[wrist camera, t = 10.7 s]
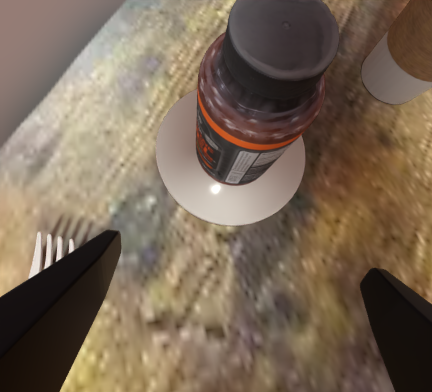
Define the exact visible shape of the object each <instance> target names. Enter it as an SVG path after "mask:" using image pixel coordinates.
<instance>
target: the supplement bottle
mask: <svg viewBox="0 0 432 392" xmlns="http://www.w3.org/2000/svg"><path fill="white" fill-rule="evenodd" d="M338 45H339V29H338V26H337V23H336V20H335V17H334V16H333V15H332V14H331V12H330V10H329V8H328V7H327V6H326V5H325V4H324V3H323V2H322V1H321V0H236V2H235V3H234V5H233V7H232V9H231V12H230V15H229V19H228V25H227V29H226V32H225V33H223V34H222V35H220V36H219V37H218V38H217V39H216V40H215V41H214V42H213V43H212V44H211V45H210V47H209V48H208V50H207V51H206V53H205V55H204V57H203V59H202V62H201V64H200V70H199V74H198V89H197V117H196V154H197V158H198V161H199V163H200V165H201V167H202V168H203V170H204V171H205V172H206V173H207V174H208V175H209V176H210V177H211V178H213V179H214V180H215V181H217V182H219V183H222V184H225V185H230V186H241V185H246V184H249V183H251V182H253V181H255V180H257V179H258V178H259V177H260V176H261V175H263V174H264V173H265V172H266V171H267V170H268V169H269V168H270V167H271V166H272V165H273V163H274V162H275V161H276V160H277V159H278V158H279V157H280V156H281V155H282V154H283V153H284V152H285V151H286V150H287V149H288V148H289V147H290V146H291V145H292V144H293V143H294V142H295V141H296V140H297V139H298V138H299V137H300V136H301V135H302V133H303V132H304V131H305V130H306V129H307V128H308V127H309V126H310V125H311V123H312V122H313V121H314V119H315V118H316V117H317V115H318V113H319V111H320V109H321V107H322V104H323V101H324V96H325V76H324V72H325V71H326V69H327V68H328V66H329V65H330V64H331V62H332V60H333V59H334V57H335V55H336V52H337V49H338Z"/></svg>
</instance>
